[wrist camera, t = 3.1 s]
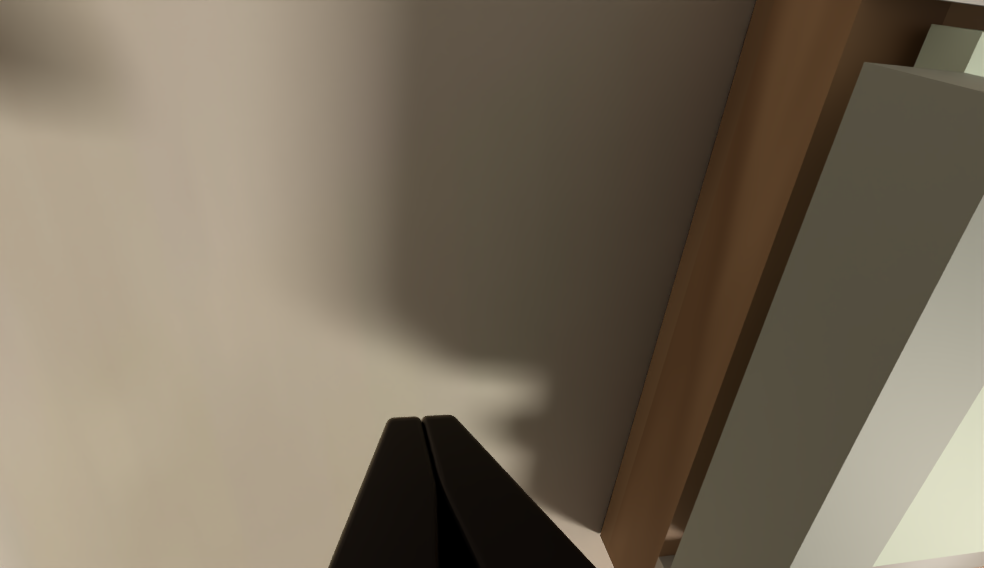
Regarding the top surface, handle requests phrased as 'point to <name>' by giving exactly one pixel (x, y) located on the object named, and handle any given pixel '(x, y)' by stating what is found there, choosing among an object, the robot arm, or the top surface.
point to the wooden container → (751, 246)
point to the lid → (869, 345)
